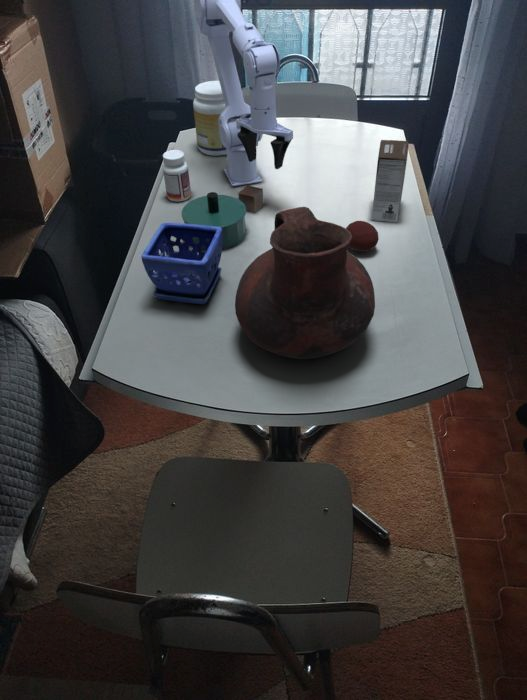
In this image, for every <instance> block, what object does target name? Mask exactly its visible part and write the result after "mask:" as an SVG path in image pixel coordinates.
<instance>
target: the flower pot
mask: <svg viewBox="0 0 527 700" xmlns="http://www.w3.org/2000/svg"><path fill="white" fill-rule="evenodd" d="M172 237H173V238H175V241H174V240H172ZM193 237H198V238H199V242H198V243H196V242H194V241H193ZM207 239H209V240H207ZM182 241H183V242H182ZM222 245H223V231H222V228H221V227H214V226H206V225H196V224H185V223H184V222H183V223H181V222H162V223H161V224H160V225H159V226H158V228H157V229H156V231H155V232H154V234H153V235H152V237H151V238H150V241H149V242H148V243H147V246H146V247H145V249H143V252H142V254H141V263H142V265H143V267H144V270H145V272H146V274H147V276H148V278H149V280H150V281H151V282H152V284H153V285H154V286H155V287H156V288H155V289H154V291H153V294H152V295H153V296H154V297H155V298H156V299H159V300H162V301H163V300H164V301H173V302H180V303H185V304H186V303H188V304H196V305H205V304H206V303H207V302H208V300H209V299H210V296H211V295H212V292H213V290H214V289H215V286H216V284H217V282H218V280H219V277H220V275H221V273H222V267H220V262H221V258H222V257H221V256H222V252H223V249H222ZM201 246H205V247H206V250H204V249H202V248H201ZM174 247H178V250H177V251H176V250H174ZM190 247H191V248H192V249H189V248H190Z"/></svg>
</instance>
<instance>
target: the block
mask: <svg viewBox="0 0 527 700" xmlns="http://www.w3.org/2000/svg"><path fill="white" fill-rule="evenodd" d="M237 195H238V199H239V200H240V201H242V202H243V203H244V205H245V207H246V212H249V213H253V214H255V213H257V212H258V210H260V209H261V208H262V207H263V206H264V188H262V187H257V186H253V185H250V184H246V185H245V186H244V187H243V188H242V189H241V190H240V191H238V192H237Z"/></svg>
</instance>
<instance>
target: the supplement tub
mask: <svg viewBox="0 0 527 700" xmlns="http://www.w3.org/2000/svg"><path fill="white" fill-rule="evenodd" d="M194 96H195V97H194V99H193V102H192V107H193V116H194V125H195V126H194V127H195V135H196V143H197V144H196V145H197V149H198V150H199V151H200V152H201V153H203V154H205V155H207V156H215V157H217V156H218V157H219V156H225V155H226V156H227V152H226V147H225V146H224V145H223V144H222V142H221V139H220V134H219V125H218V119H219V116H220V115H221V113H222V112H223V111H224V110H225V108H226V106H225V102H224V98H223V94H222V90H221V86H220V82H219V80H209V81H204V82H201V83H198V84H197V85H196V86H195V88H194ZM234 120H238V119H234ZM229 121H233V120H229ZM229 121H227V122H229Z"/></svg>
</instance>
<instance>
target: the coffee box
mask: <svg viewBox="0 0 527 700" xmlns="http://www.w3.org/2000/svg"><path fill="white" fill-rule="evenodd" d="M409 143H410V142H409V140H398V139H397V140H395V139H381V140H380V143H379V149H378V154H377V155H378V157H377V165H376V173H375V180H374V181H375V182H374V191H373V202H372V212H371V221H375V222H376V221H377V222H389V223H399V218H400V212H401V211H400V209H401V204H402V197H403V191H404V183H405V177H406V170H407V163H408V154H409Z"/></svg>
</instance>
